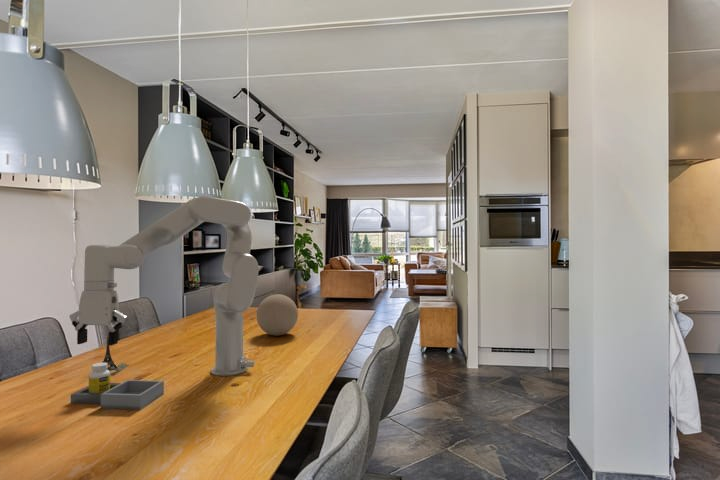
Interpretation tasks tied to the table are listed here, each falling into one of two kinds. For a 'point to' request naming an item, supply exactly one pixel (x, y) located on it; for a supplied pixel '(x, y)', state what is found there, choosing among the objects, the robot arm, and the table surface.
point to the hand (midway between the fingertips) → (97, 343)
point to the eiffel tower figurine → (111, 362)
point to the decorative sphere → (277, 314)
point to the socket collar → (88, 396)
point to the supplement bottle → (99, 378)
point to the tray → (132, 394)
